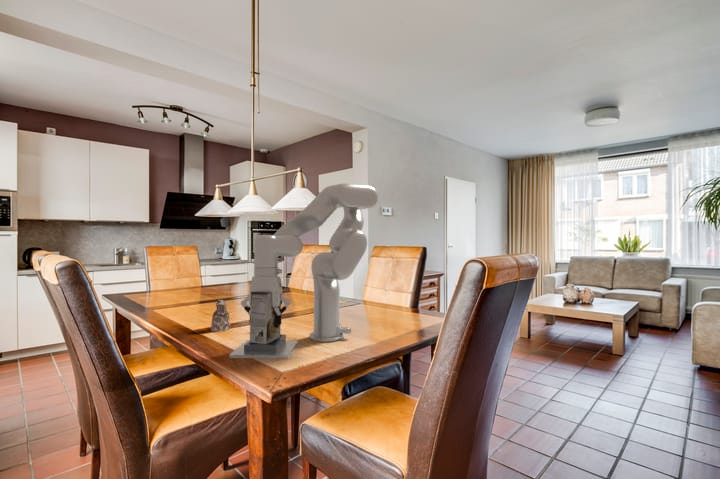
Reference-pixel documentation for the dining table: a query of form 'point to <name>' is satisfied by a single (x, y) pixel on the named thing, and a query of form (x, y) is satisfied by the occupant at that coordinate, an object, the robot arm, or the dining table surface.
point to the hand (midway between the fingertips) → (265, 326)
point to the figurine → (220, 318)
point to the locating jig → (266, 349)
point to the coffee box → (263, 319)
